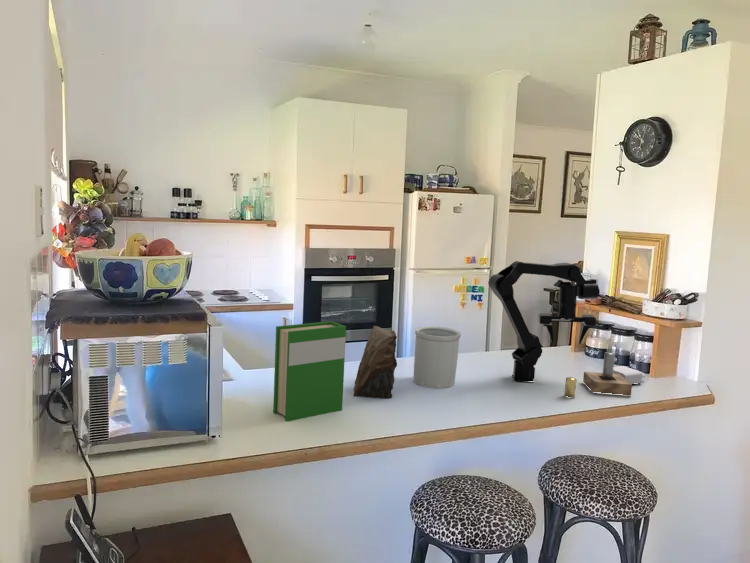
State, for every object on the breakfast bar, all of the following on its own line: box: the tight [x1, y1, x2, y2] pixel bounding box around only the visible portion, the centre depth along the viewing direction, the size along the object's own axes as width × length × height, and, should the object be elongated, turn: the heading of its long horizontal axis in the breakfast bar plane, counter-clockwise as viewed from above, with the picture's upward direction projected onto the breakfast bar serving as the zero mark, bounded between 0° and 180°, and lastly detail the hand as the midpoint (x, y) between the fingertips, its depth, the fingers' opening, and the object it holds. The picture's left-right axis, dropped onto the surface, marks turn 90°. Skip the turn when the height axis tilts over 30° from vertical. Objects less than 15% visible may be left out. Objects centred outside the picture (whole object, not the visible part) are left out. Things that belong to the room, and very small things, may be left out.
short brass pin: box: [563, 376, 577, 397], centre depth 189 cm, size 3×3×6 cm
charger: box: [613, 365, 646, 384], centre depth 211 cm, size 5×9×15 cm
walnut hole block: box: [582, 371, 633, 396], centre depth 199 cm, size 12×12×4 cm
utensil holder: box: [413, 325, 461, 389], centre depth 195 cm, size 15×15×18 cm
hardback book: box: [272, 320, 347, 423], centre depth 161 cm, size 18×7×24 cm, turn 128°
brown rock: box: [353, 325, 398, 400], centre depth 181 cm, size 13×13×20 cm
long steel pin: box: [601, 351, 616, 380], centre depth 198 cm, size 3×3×12 cm
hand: (565, 343), depth 207 cm, fingers open, 9 cm apart
